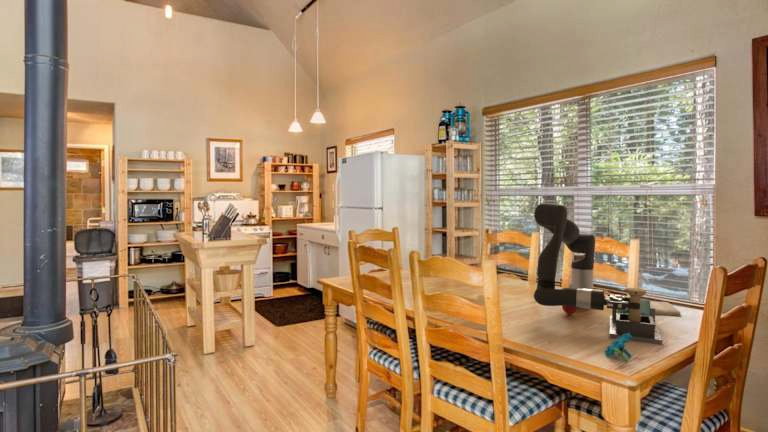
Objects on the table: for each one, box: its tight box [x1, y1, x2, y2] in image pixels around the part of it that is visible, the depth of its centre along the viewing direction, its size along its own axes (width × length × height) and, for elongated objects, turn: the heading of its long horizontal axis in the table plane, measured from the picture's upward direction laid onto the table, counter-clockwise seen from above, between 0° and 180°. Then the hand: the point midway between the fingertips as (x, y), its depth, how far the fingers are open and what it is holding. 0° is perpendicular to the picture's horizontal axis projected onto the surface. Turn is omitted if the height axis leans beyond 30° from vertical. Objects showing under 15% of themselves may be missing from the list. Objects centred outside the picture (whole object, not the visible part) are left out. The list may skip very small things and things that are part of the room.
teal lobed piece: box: [604, 333, 632, 362], centre depth 142 cm, size 11×6×10 cm
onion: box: [561, 305, 578, 316], centre depth 190 cm, size 6×6×8 cm
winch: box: [608, 299, 663, 345], centre depth 170 cm, size 16×28×10 cm, turn 153°
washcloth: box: [650, 300, 682, 316], centre depth 199 cm, size 12×18×3 cm, turn 165°
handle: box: [625, 287, 647, 322], centre depth 164 cm, size 5×6×15 cm
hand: (639, 303), depth 163 cm, fingers open, 8 cm apart
